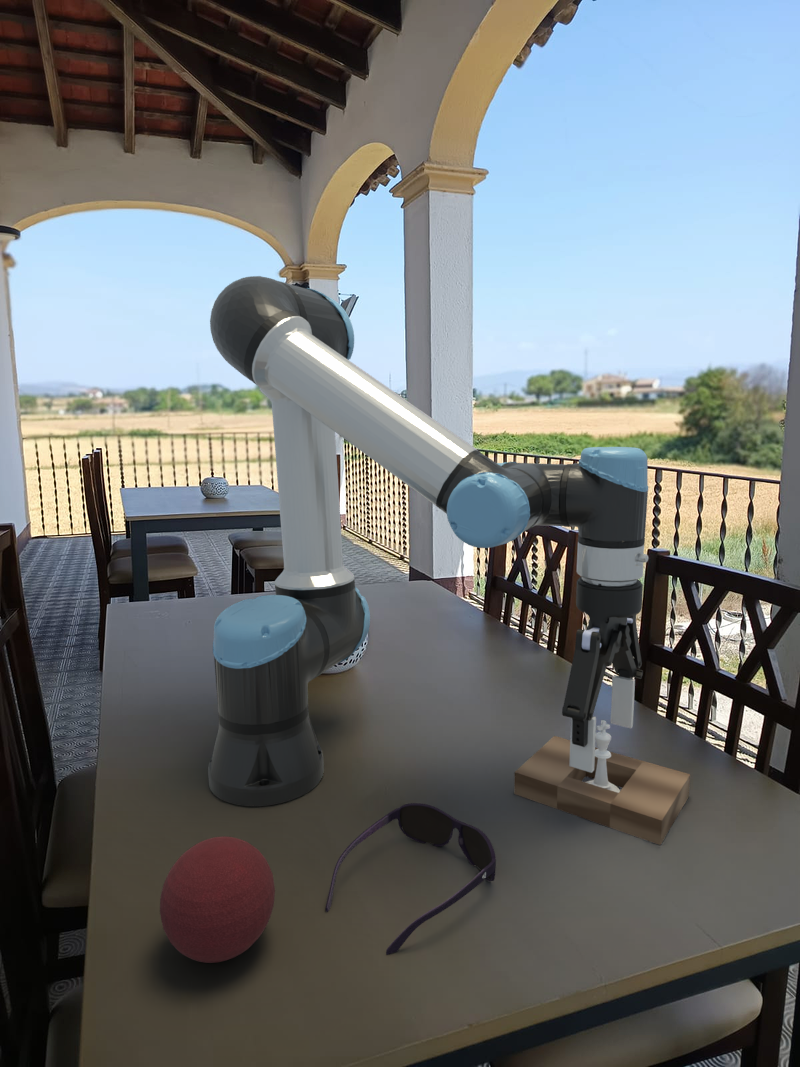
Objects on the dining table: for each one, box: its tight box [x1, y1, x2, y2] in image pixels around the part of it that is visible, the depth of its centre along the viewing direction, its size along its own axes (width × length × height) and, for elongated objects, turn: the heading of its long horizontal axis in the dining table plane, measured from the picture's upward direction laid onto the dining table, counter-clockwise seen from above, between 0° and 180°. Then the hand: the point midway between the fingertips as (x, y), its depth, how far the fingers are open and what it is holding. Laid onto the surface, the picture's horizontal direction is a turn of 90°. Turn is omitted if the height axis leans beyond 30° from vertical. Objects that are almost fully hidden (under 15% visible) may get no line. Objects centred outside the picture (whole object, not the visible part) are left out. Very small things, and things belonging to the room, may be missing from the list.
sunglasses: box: [325, 802, 497, 956], centre depth 69 cm, size 14×16×5 cm
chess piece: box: [585, 719, 621, 793], centre depth 85 cm, size 5×5×10 cm
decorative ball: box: [159, 835, 276, 964], centre depth 61 cm, size 10×10×10 cm
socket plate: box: [513, 735, 691, 846], centre depth 86 cm, size 12×18×3 cm, turn 53°
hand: (602, 745), depth 85 cm, fingers open, 13 cm apart
